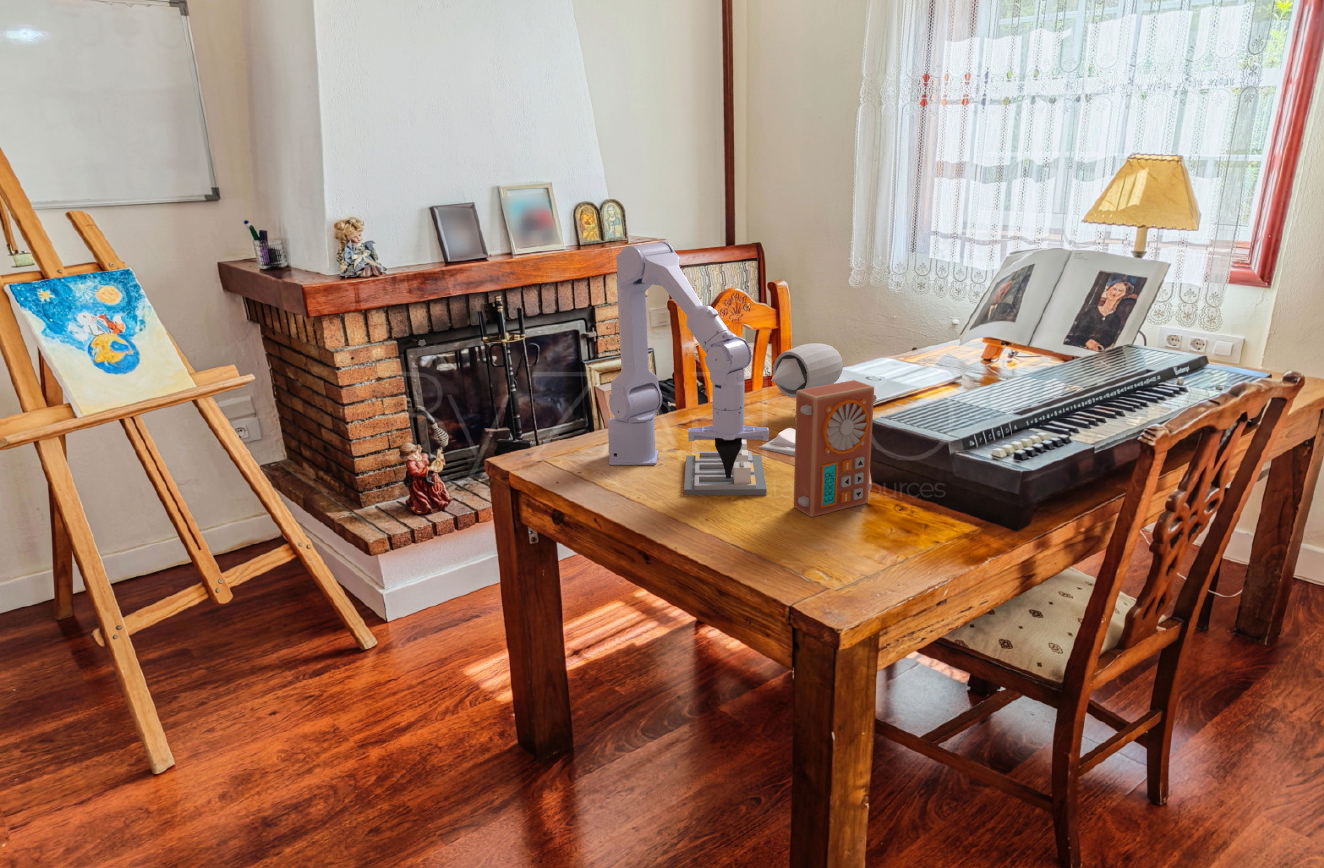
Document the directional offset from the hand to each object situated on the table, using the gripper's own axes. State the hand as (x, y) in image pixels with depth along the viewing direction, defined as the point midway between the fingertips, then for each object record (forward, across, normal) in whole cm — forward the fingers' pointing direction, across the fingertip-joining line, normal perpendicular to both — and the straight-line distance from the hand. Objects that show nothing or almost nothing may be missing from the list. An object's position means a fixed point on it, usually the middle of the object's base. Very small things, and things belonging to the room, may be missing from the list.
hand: (728, 476), depth 161 cm
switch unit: (+3, -1, +6) cm, 7 cm away
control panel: (+3, +18, -7) cm, 19 cm away
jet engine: (+3, +18, +42) cm, 46 cm away
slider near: (+1, +3, 0) cm, 3 cm away
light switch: (+4, +15, +24) cm, 29 cm away
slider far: (+1, +2, +13) cm, 13 cm away
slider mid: (+1, +2, +7) cm, 7 cm away
